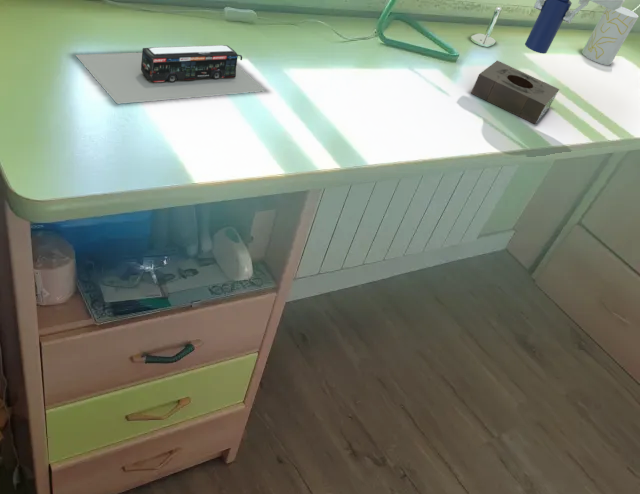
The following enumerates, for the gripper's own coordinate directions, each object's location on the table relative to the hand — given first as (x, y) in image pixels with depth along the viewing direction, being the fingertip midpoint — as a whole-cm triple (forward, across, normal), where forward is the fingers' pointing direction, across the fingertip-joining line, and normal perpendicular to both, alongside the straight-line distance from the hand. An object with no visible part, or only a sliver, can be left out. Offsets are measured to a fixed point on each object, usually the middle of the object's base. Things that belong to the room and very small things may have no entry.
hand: (552, 15), depth 111 cm
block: (+17, 0, 0) cm, 17 cm away
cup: (+17, +8, +56) cm, 59 cm away
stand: (+17, -16, +28) cm, 36 cm away
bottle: (+6, 0, 0) cm, 6 cm away
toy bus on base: (+17, -42, -53) cm, 70 cm away
